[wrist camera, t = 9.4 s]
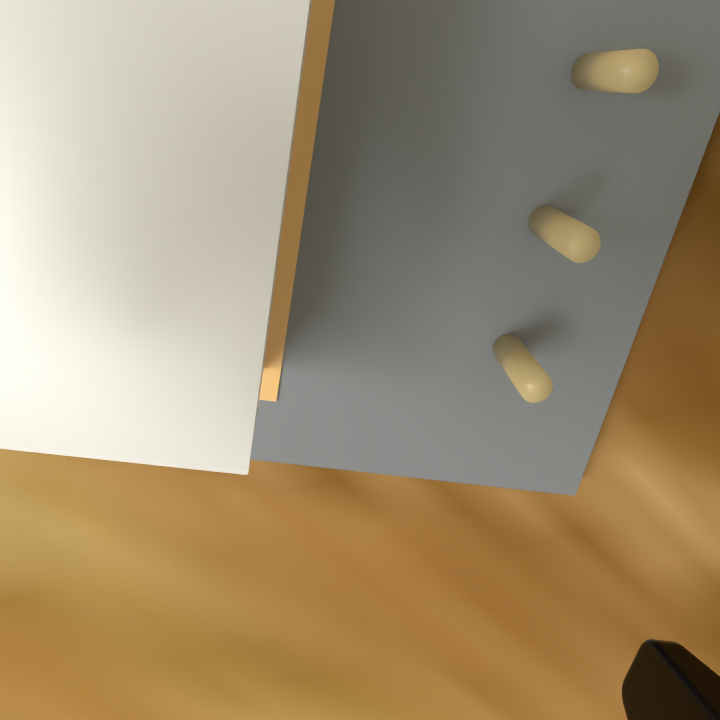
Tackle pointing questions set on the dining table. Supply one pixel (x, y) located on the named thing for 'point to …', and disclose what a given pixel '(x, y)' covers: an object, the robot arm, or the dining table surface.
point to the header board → (477, 229)
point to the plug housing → (142, 222)
